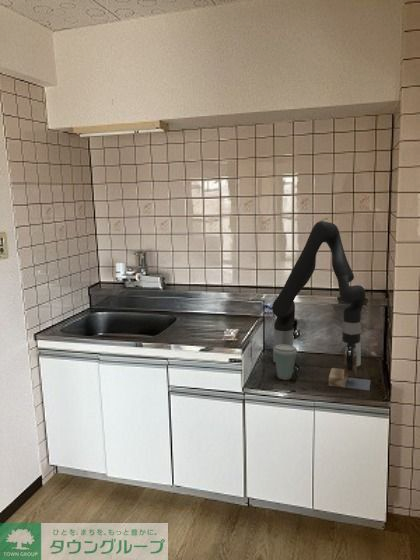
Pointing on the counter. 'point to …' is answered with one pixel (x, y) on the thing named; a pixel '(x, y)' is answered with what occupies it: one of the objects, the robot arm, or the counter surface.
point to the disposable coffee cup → (285, 360)
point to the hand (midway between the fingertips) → (350, 368)
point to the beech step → (337, 378)
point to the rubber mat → (358, 384)
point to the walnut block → (354, 370)
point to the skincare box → (358, 353)
